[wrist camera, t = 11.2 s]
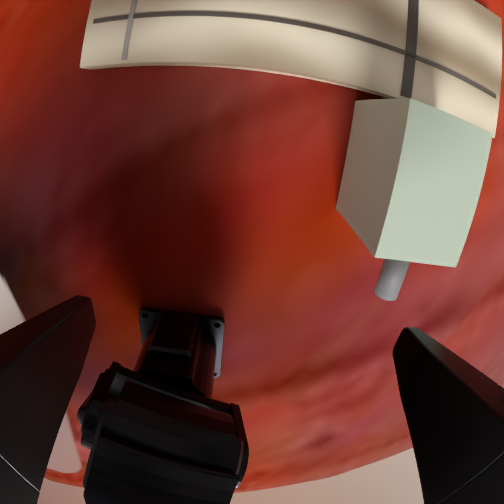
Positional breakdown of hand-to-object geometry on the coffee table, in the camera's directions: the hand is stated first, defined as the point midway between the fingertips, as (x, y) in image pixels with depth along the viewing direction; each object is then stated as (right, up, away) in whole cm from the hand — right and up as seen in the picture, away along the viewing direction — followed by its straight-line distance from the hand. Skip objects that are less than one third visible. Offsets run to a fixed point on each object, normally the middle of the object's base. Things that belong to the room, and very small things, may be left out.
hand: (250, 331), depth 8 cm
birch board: (+4, +17, +5) cm, 18 cm away
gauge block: (+8, +6, +10) cm, 15 cm away
